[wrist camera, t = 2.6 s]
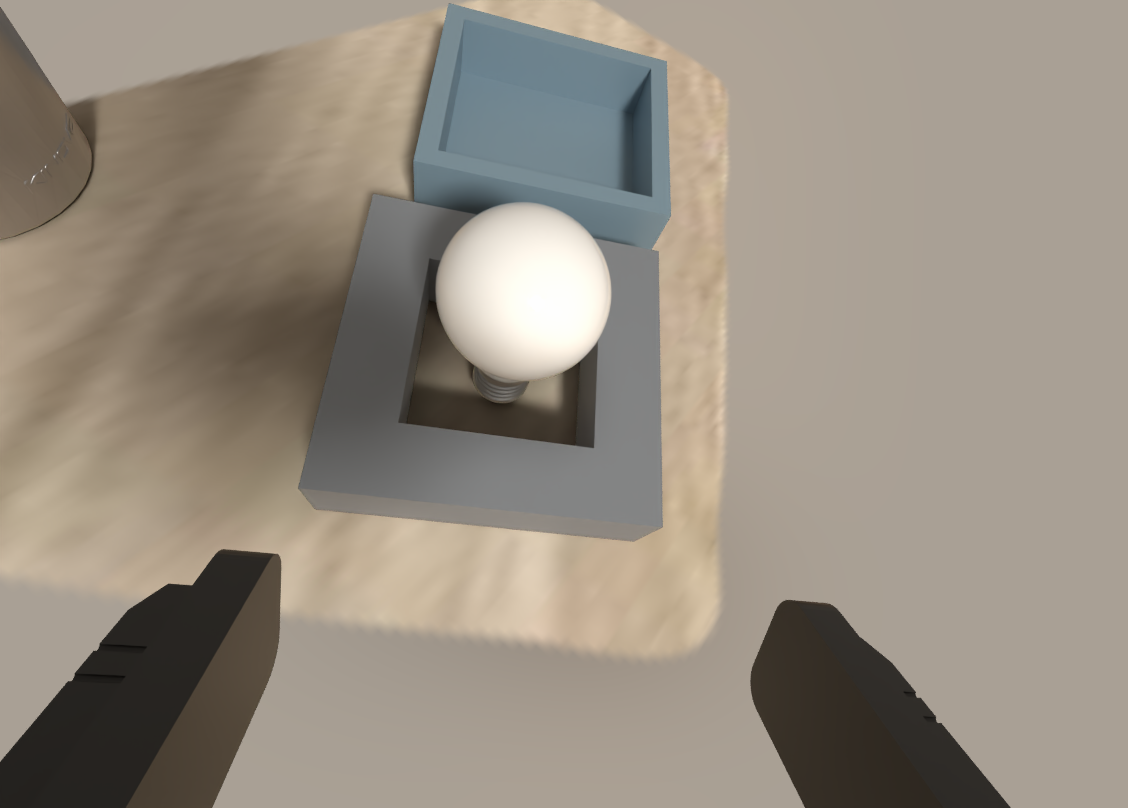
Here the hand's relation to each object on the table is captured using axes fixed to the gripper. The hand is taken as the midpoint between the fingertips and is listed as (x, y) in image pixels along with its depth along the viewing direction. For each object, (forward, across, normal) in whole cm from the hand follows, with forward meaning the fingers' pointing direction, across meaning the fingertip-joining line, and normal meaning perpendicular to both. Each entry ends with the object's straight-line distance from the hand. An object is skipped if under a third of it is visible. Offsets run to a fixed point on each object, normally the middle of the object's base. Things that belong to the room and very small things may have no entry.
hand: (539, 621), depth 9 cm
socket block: (+19, 0, +3) cm, 19 cm away
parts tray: (+30, -1, -8) cm, 31 cm away
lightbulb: (+19, 0, +3) cm, 19 cm away
